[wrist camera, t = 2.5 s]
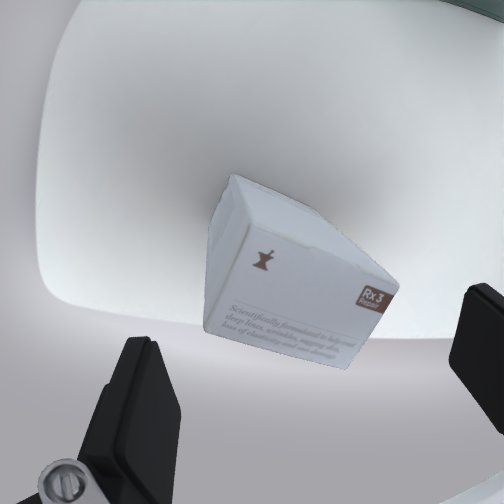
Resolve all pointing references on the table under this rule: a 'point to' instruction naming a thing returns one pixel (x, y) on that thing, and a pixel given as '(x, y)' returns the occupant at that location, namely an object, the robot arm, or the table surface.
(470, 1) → the bin
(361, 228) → the table surface
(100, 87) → the table surface
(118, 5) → the table surface
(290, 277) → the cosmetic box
